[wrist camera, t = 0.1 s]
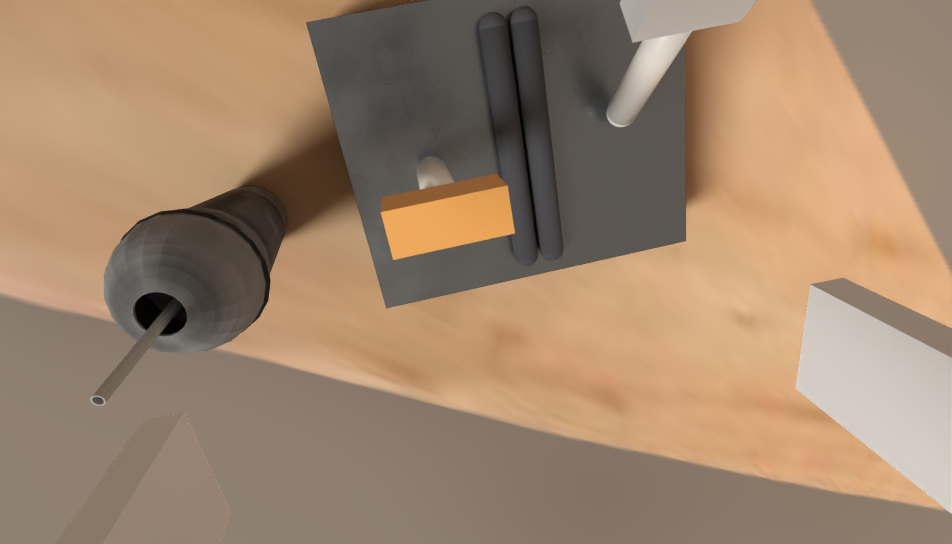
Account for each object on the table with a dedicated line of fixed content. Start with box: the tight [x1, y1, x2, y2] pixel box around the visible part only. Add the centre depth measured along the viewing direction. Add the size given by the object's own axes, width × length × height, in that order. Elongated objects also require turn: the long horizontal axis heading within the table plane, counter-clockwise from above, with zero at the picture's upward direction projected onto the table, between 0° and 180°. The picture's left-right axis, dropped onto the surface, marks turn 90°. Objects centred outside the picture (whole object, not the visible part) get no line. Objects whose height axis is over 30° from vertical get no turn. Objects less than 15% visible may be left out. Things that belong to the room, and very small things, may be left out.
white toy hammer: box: [606, 0, 757, 127], centre depth 25 cm, size 2×5×12 cm
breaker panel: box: [306, 0, 686, 308], centre depth 34 cm, size 18×22×5 cm
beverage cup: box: [90, 186, 287, 406], centre depth 26 cm, size 7×7×20 cm
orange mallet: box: [381, 156, 515, 260], centre depth 25 cm, size 2×5×12 cm, turn 100°
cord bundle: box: [479, 6, 564, 267], centre depth 31 cm, size 16×3×2 cm, turn 10°
